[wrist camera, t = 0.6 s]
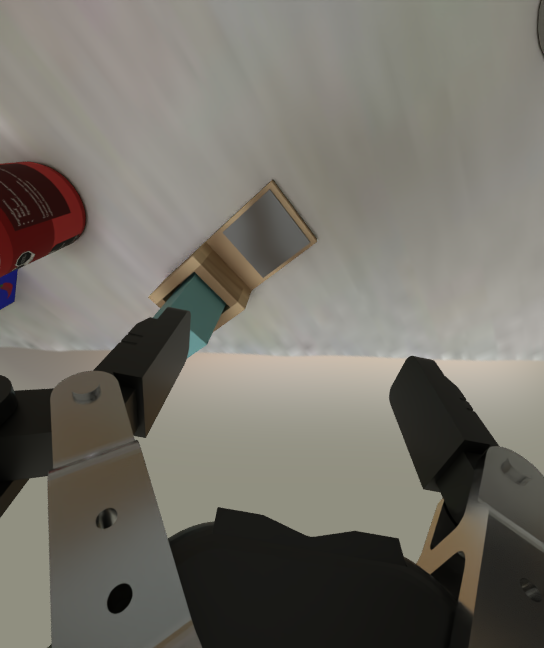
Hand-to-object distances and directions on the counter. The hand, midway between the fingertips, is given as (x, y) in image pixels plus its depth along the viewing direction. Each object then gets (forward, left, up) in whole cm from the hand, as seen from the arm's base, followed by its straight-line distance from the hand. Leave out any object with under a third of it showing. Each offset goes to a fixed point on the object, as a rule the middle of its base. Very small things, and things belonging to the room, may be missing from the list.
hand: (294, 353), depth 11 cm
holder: (+8, -1, -20) cm, 22 cm away
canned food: (+19, -17, -21) cm, 33 cm away
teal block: (+12, -1, -19) cm, 23 cm away
